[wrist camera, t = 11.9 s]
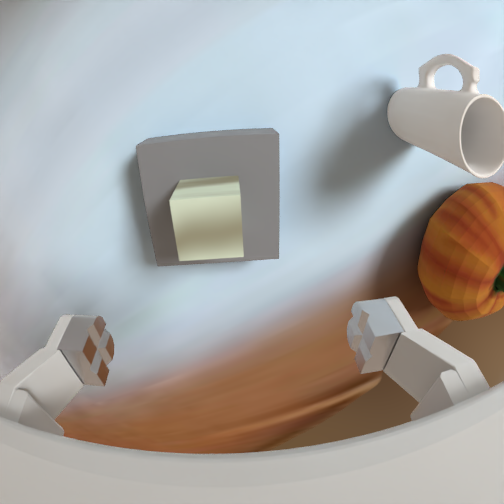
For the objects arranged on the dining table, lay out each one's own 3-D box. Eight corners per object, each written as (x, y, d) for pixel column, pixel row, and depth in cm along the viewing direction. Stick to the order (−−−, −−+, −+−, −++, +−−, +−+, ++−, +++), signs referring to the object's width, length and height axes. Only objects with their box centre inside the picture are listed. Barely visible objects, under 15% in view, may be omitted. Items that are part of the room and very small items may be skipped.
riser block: (147, 138, 26) (135, 145, 23) (272, 128, 26) (279, 133, 23) (164, 246, 32) (157, 266, 29) (273, 239, 33) (278, 258, 29)
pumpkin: (390, 296, 39) (439, 377, 26) (422, 163, 29) (514, 218, 16) (477, 284, 40) (526, 341, 27) (511, 178, 30) (581, 223, 17)
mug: (432, 144, 28) (506, 178, 17) (385, 144, 28) (456, 179, 17) (430, 60, 23) (508, 64, 12) (379, 53, 23) (455, 45, 12)
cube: (179, 180, 24) (169, 200, 20) (238, 175, 25) (240, 195, 20) (186, 232, 27) (179, 261, 23) (241, 228, 27) (243, 256, 23)
